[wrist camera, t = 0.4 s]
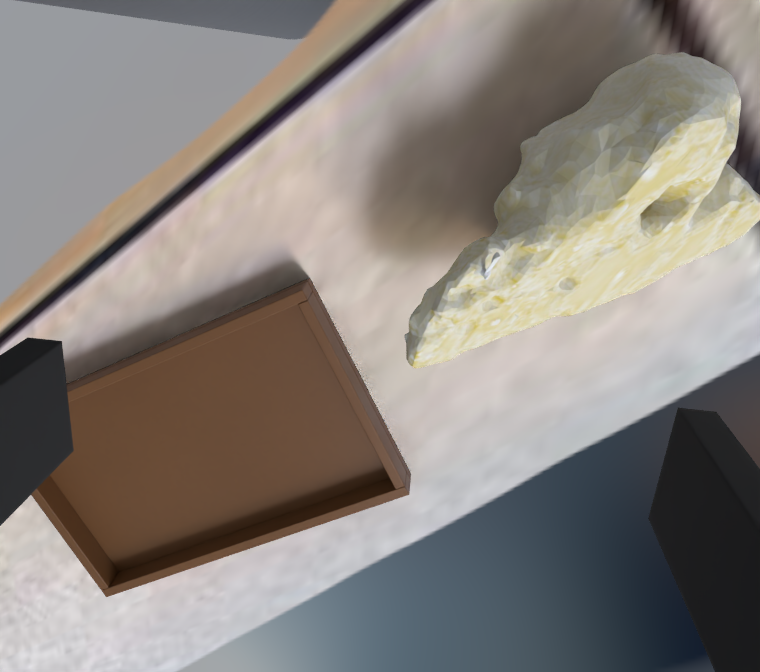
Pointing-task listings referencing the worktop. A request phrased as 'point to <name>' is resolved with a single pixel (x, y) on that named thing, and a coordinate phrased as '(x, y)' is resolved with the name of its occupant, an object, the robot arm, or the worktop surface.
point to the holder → (219, 444)
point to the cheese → (599, 207)
